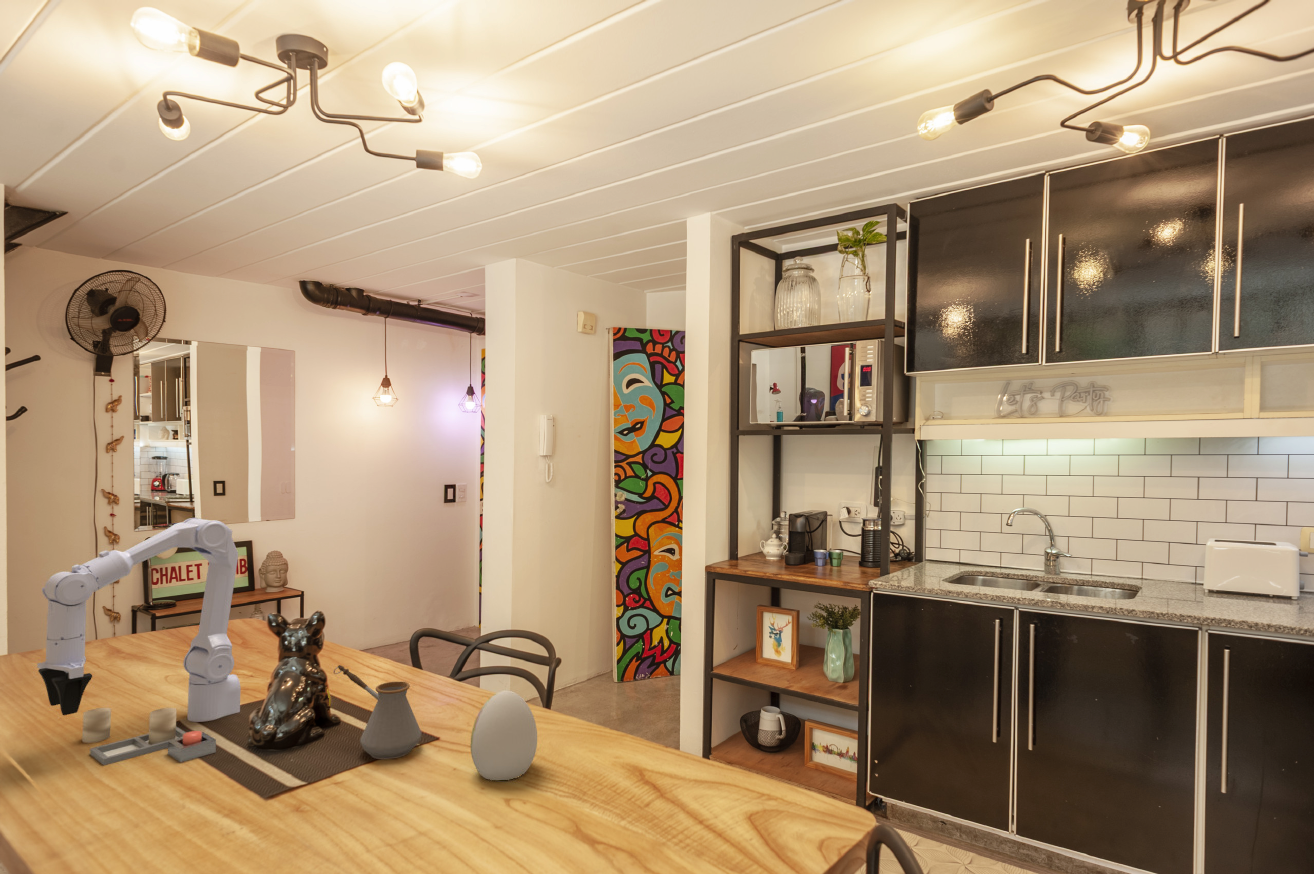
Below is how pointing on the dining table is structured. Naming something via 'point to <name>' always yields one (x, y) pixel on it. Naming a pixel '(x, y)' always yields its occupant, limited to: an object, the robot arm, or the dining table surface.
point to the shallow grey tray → (129, 748)
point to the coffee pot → (388, 720)
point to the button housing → (191, 748)
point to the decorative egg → (504, 737)
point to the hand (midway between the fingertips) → (63, 708)
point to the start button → (192, 737)
